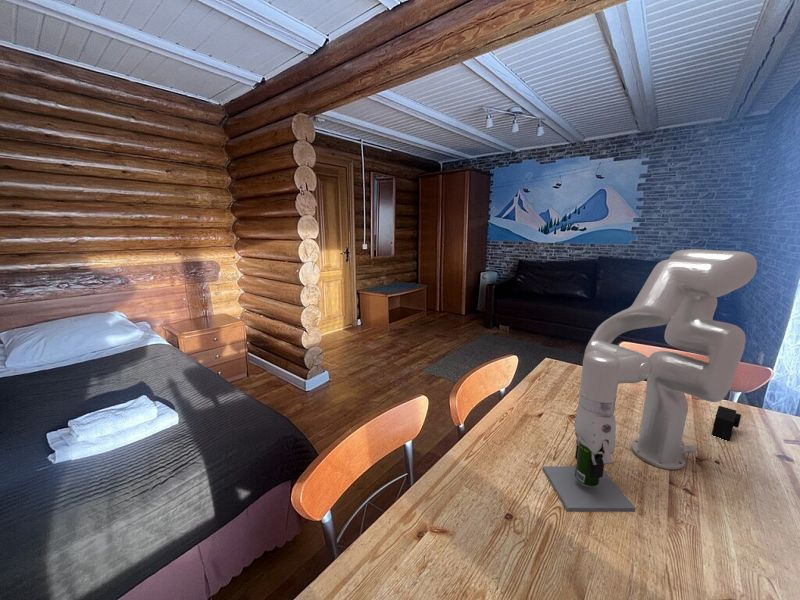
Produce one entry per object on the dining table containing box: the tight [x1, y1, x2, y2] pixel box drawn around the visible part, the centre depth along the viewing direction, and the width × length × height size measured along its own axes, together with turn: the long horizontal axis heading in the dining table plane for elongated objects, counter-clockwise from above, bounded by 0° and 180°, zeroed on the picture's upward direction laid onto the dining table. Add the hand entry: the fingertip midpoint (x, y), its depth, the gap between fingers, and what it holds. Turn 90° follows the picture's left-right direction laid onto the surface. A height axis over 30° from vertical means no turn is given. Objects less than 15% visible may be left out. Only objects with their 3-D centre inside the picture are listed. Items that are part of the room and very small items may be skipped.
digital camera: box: [711, 405, 742, 442], centre depth 107 cm, size 10×5×7 cm, turn 132°
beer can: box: [575, 437, 601, 488], centre depth 83 cm, size 5×5×12 cm
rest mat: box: [542, 465, 636, 513], centre depth 85 cm, size 16×14×1 cm
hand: (588, 467), depth 84 cm, fingers closed on beer can, 5 cm apart
